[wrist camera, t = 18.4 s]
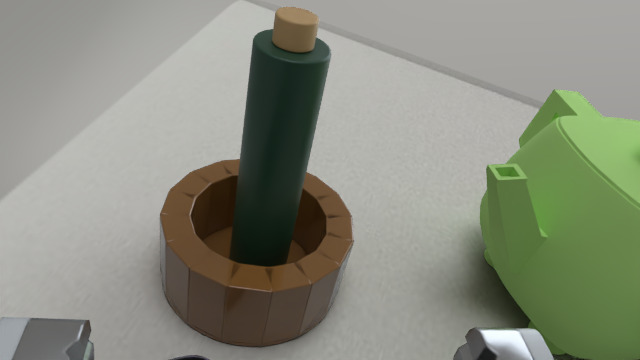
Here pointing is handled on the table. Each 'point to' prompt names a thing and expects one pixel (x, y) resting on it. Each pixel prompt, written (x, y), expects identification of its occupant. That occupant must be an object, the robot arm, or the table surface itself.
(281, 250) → the green tube with cork
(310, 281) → the bowl
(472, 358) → the robot arm
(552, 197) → the teapot
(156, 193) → the table surface
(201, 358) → the smartphone
